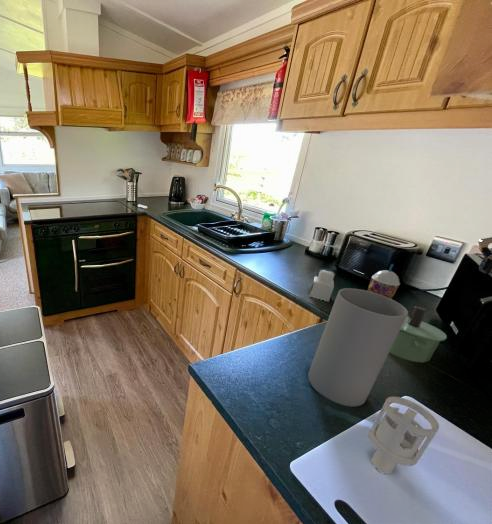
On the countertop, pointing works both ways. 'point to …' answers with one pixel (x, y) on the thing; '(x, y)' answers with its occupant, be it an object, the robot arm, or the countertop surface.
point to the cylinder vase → (355, 345)
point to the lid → (421, 326)
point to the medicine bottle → (323, 285)
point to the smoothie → (384, 283)
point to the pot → (413, 347)
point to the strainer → (400, 435)
